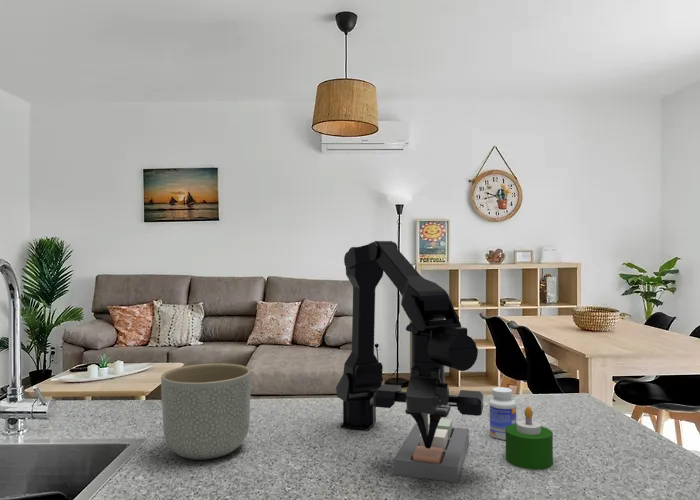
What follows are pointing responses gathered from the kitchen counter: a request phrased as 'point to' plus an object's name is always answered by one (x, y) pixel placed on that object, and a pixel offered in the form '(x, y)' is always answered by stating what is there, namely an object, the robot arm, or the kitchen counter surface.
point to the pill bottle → (501, 412)
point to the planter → (206, 409)
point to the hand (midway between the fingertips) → (428, 447)
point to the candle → (529, 444)
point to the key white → (438, 439)
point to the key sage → (444, 425)
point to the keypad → (430, 470)
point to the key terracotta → (428, 454)
